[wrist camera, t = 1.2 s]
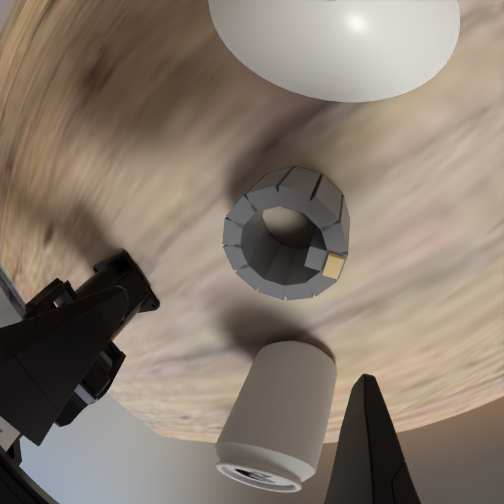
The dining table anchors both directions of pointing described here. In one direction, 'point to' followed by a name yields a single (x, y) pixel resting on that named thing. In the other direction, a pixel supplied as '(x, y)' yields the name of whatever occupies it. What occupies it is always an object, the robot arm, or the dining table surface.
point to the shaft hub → (340, 43)
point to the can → (279, 418)
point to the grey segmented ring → (282, 257)
